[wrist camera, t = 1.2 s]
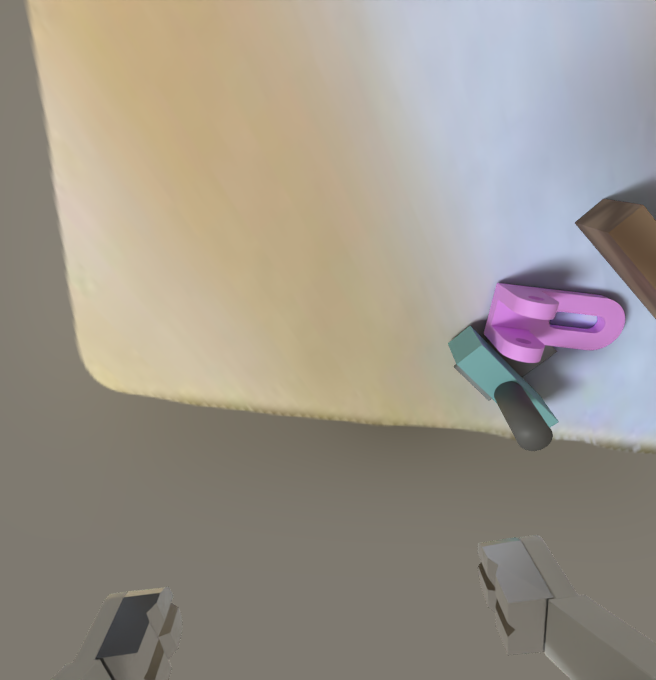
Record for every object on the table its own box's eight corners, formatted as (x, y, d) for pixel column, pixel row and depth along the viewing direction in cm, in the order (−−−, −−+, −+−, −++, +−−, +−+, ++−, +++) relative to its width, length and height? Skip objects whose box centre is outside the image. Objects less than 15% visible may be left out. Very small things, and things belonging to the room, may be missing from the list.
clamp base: (603, 198, 37) (643, 204, 32) (685, 300, 40) (734, 321, 35) (430, 343, 45) (438, 368, 39) (509, 419, 48) (527, 453, 42)
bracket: (483, 333, 43) (506, 360, 37) (497, 282, 41) (523, 301, 35) (605, 348, 43) (650, 377, 36) (625, 297, 41) (676, 319, 34)
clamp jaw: (470, 325, 43) (504, 381, 32) (539, 395, 45) (593, 469, 34) (447, 343, 44) (473, 403, 33) (517, 411, 46) (562, 487, 35)
